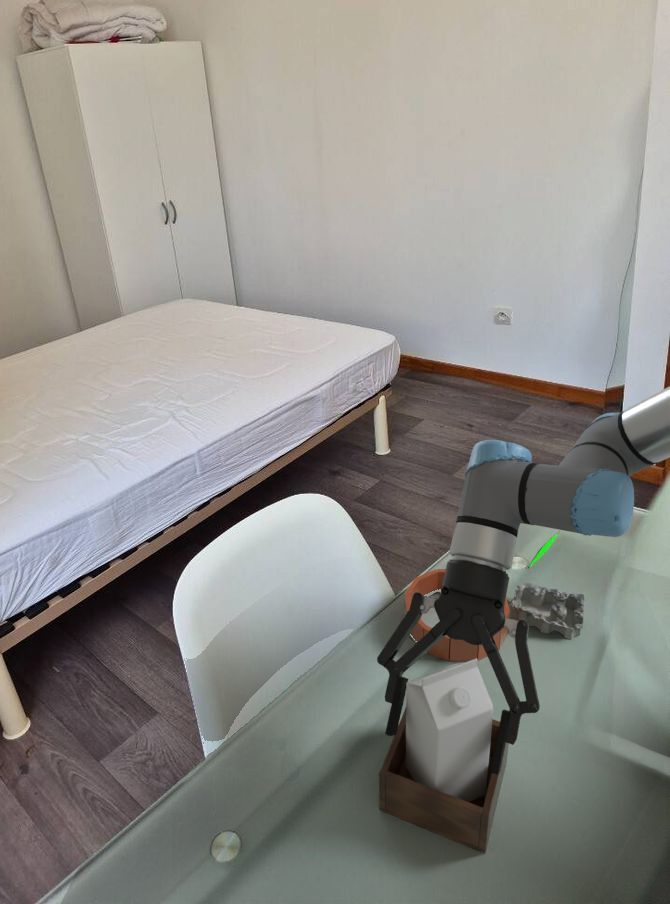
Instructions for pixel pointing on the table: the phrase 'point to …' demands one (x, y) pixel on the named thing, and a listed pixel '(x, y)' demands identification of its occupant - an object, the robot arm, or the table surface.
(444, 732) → the milk carton
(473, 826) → the box
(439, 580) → the orange faceted ring
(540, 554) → the leaf
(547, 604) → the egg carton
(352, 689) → the table surface
